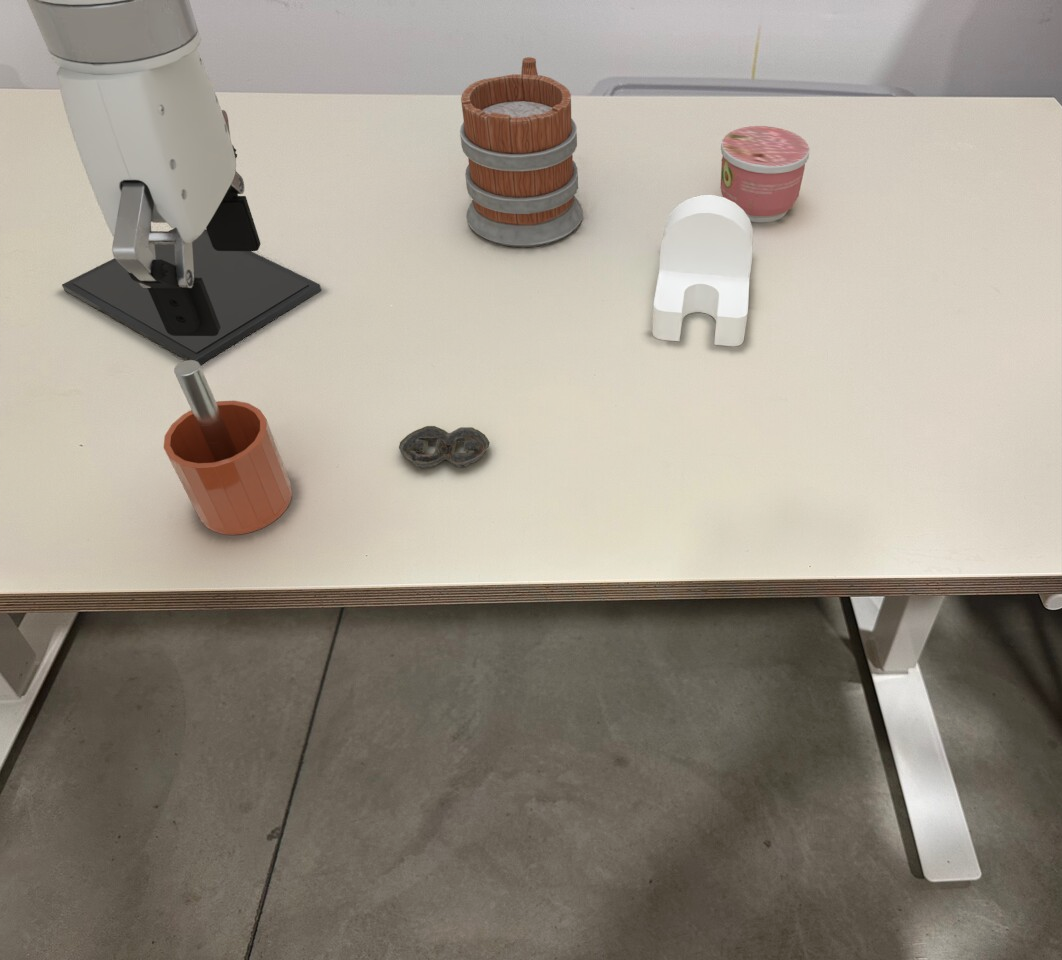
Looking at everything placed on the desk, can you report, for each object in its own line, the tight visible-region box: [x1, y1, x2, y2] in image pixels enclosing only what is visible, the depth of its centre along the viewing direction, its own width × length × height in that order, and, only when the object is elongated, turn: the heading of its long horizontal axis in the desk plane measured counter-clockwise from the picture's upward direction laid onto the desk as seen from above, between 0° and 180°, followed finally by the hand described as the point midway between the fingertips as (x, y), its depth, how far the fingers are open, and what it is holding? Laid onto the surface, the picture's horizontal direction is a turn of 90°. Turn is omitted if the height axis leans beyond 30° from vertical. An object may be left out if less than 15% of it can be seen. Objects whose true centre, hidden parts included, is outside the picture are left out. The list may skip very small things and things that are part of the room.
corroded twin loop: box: [398, 425, 490, 469], centre depth 80 cm, size 5×8×1 cm, turn 91°
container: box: [719, 125, 810, 223], centre depth 109 cm, size 10×10×8 cm
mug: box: [459, 56, 584, 248], centre depth 105 cm, size 14×19×15 cm
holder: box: [163, 400, 293, 536], centre depth 73 cm, size 8×8×8 cm
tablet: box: [61, 228, 322, 366], centre depth 96 cm, size 16×22×1 cm
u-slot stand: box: [651, 194, 754, 347], centre depth 95 cm, size 10×18×11 cm, turn 174°
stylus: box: [173, 360, 238, 462], centre depth 70 cm, size 2×2×14 cm
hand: (217, 288), depth 60 cm, fingers open, 9 cm apart
